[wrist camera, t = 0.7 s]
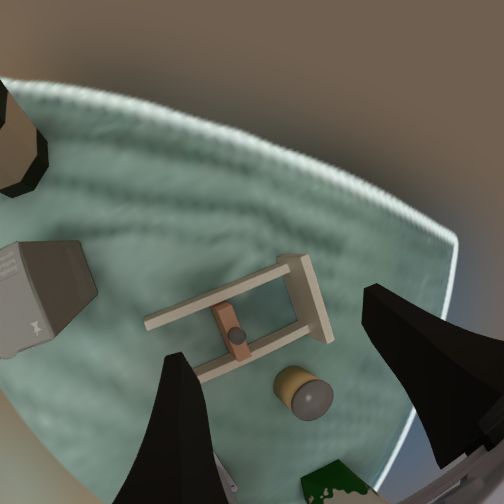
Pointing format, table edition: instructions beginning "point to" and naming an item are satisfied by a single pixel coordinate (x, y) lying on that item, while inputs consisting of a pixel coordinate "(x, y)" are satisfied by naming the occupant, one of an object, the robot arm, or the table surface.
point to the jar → (303, 393)
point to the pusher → (231, 330)
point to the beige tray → (309, 322)
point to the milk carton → (338, 487)
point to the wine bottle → (19, 149)
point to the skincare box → (40, 292)
